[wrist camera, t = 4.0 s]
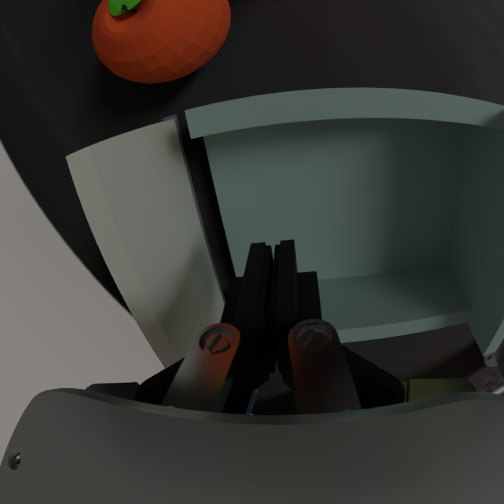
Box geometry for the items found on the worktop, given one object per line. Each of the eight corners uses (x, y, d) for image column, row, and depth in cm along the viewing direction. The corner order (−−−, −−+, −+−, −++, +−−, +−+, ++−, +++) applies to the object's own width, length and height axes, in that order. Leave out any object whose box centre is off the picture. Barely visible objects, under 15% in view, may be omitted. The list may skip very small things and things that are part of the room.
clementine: (119, 11, 11) (48, -7, 5) (214, -37, 9) (174, -90, 3) (154, 102, 15) (82, 115, 9) (258, 58, 13) (237, 31, 7)
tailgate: (179, 113, 14) (87, 139, 6) (227, 298, 21) (209, 406, 13) (163, 118, 14) (64, 150, 6) (214, 299, 21) (191, 405, 13)
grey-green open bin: (463, 98, 12) (562, 124, 4) (447, 268, 18) (495, 351, 11) (203, 108, 15) (123, 127, 7) (243, 287, 21) (221, 388, 14)
